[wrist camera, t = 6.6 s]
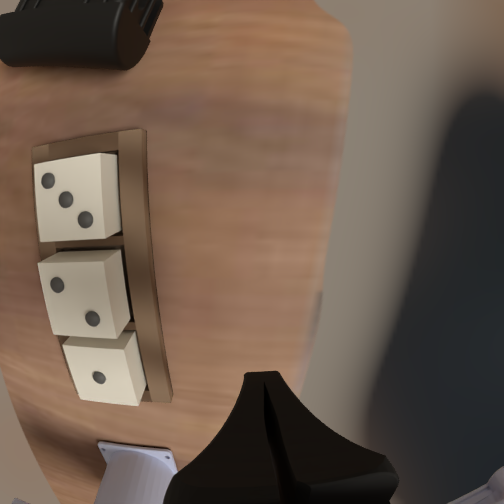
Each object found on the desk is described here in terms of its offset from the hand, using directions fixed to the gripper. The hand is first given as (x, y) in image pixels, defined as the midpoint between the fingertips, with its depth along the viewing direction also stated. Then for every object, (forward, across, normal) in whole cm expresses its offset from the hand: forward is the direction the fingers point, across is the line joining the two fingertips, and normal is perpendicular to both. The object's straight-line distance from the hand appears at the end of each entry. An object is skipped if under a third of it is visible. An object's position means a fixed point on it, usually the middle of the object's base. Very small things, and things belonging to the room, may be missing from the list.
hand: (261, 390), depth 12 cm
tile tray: (+10, +11, -2) cm, 15 cm away
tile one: (+10, +11, +5) cm, 16 cm away
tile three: (+10, +11, -8) cm, 17 cm away
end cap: (+11, +11, -20) cm, 25 cm away
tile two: (+9, +11, -1) cm, 14 cm away
